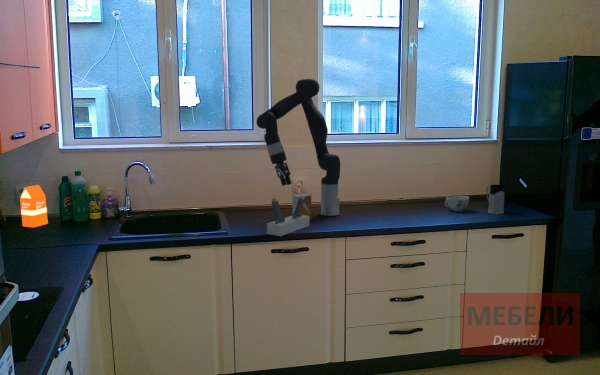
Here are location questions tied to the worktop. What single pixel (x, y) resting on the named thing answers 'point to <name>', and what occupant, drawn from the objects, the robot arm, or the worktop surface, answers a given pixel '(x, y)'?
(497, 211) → the glass holder
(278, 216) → the tan tipped lever
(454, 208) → the teacup
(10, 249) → the worktop surface
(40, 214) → the orange juice
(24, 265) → the worktop surface
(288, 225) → the switch box
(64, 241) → the worktop surface
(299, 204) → the grey lever
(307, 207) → the small box
